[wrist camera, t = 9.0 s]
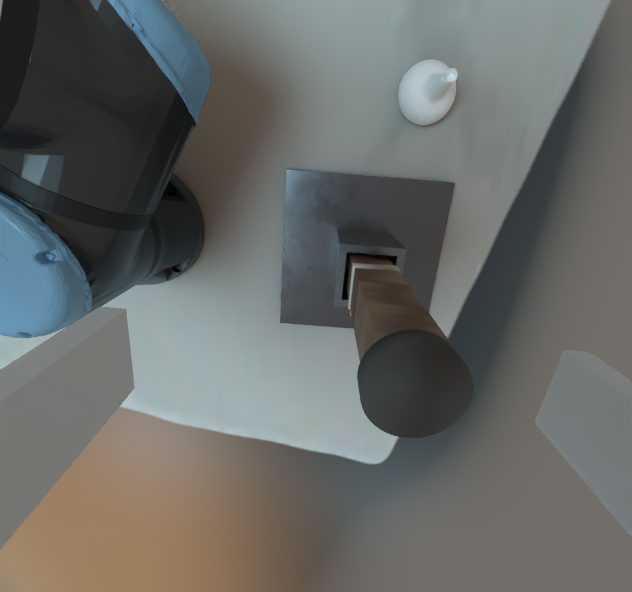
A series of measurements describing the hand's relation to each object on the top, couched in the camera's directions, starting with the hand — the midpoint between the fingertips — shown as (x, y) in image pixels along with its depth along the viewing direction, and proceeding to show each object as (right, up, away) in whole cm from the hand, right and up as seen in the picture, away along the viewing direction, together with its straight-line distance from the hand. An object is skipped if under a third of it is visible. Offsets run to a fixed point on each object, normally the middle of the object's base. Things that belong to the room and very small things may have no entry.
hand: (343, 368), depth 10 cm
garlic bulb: (+11, +25, +28) cm, 39 cm away
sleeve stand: (+5, +8, +34) cm, 36 cm away
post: (+5, +5, +27) cm, 28 cm away
